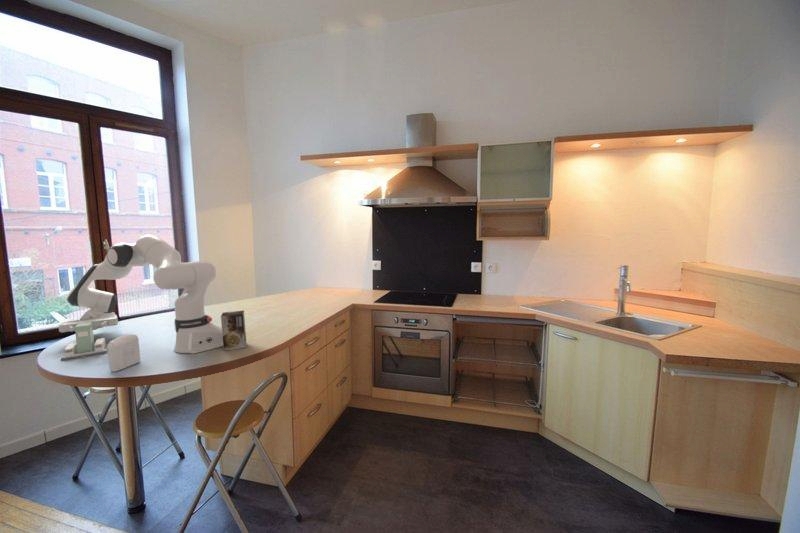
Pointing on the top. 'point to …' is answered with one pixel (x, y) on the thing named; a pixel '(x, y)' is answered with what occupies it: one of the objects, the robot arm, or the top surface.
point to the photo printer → (123, 352)
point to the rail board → (99, 348)
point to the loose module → (84, 337)
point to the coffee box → (233, 330)
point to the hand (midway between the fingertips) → (87, 327)
